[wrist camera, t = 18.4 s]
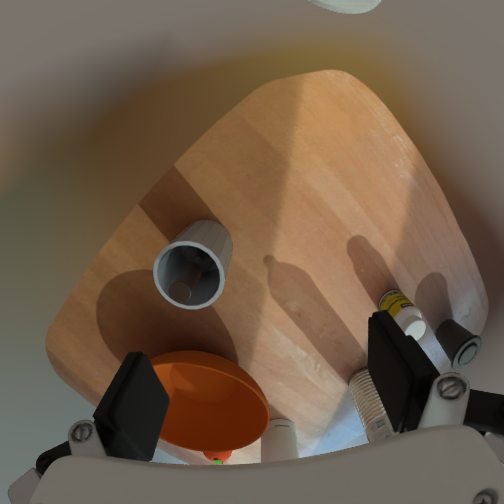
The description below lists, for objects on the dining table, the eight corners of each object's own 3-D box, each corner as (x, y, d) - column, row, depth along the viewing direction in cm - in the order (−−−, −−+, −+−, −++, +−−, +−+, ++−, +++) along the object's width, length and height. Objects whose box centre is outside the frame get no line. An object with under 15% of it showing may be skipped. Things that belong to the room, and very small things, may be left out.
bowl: (174, 420, 55) (165, 453, 45) (121, 337, 48) (99, 369, 38) (280, 408, 52) (283, 444, 43) (246, 312, 45) (244, 349, 36)
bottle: (284, 414, 53) (294, 528, 26) (301, 430, 55) (315, 532, 28) (253, 426, 55) (252, 534, 28) (272, 441, 57) (276, 539, 30)
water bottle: (378, 384, 51) (418, 475, 27) (348, 393, 51) (379, 490, 27) (378, 362, 49) (426, 459, 25) (346, 372, 49) (383, 476, 25)
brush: (187, 252, 42) (154, 297, 27) (199, 230, 40) (170, 266, 26) (210, 266, 42) (188, 317, 28) (223, 244, 41) (206, 287, 27)
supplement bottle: (400, 283, 44) (427, 310, 34) (406, 307, 45) (431, 335, 36) (374, 297, 44) (397, 327, 35) (381, 320, 46) (402, 352, 36)
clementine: (237, 446, 58) (236, 468, 51) (211, 448, 58) (208, 469, 51) (227, 430, 55) (225, 453, 48) (200, 431, 56) (196, 454, 49)
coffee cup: (461, 308, 45) (487, 332, 36) (456, 338, 48) (479, 363, 38) (432, 320, 46) (457, 348, 36) (428, 350, 48) (450, 379, 39)
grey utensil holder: (170, 254, 42) (142, 285, 31) (195, 209, 40) (172, 226, 29) (215, 281, 44) (202, 321, 32) (243, 237, 42) (238, 266, 30)
